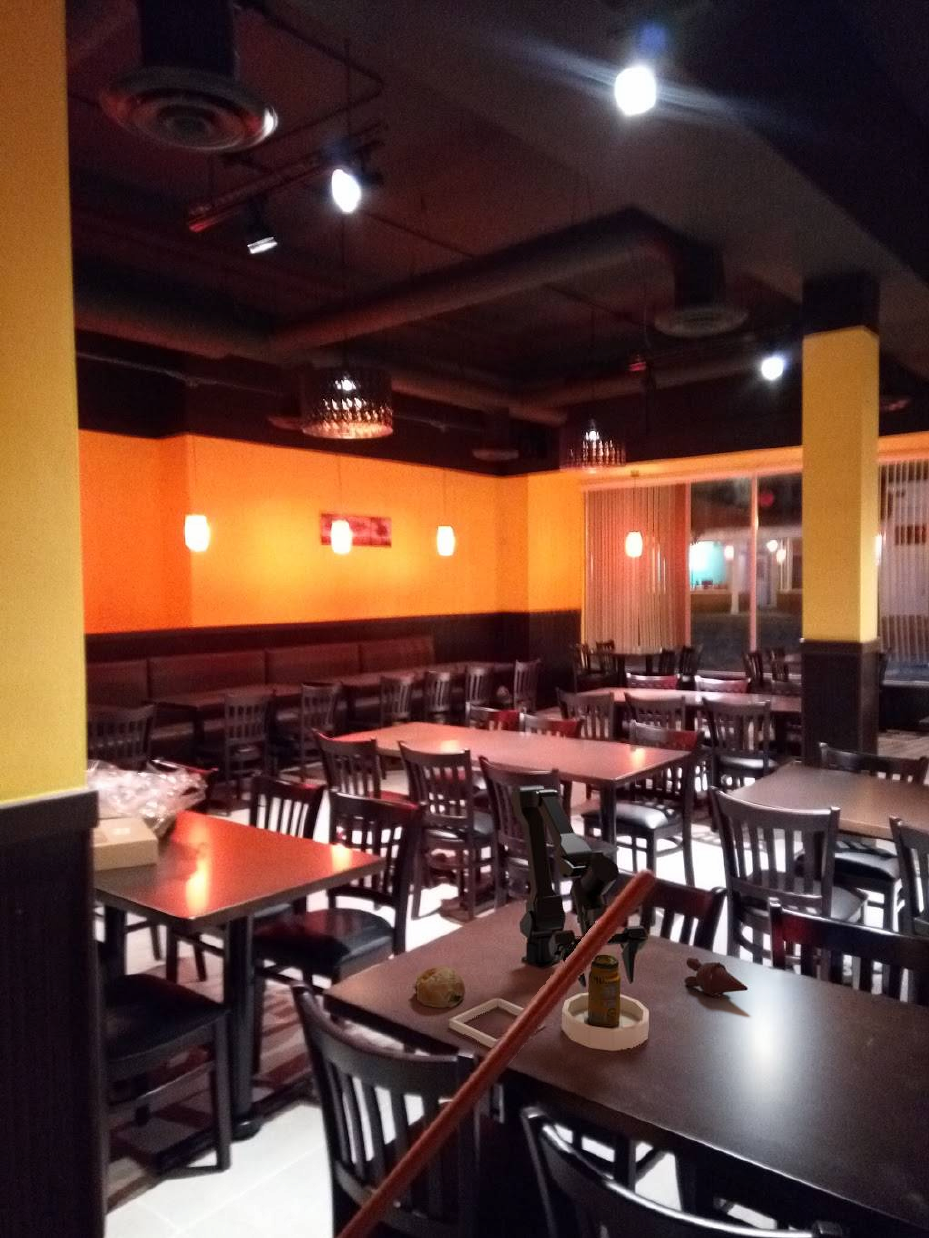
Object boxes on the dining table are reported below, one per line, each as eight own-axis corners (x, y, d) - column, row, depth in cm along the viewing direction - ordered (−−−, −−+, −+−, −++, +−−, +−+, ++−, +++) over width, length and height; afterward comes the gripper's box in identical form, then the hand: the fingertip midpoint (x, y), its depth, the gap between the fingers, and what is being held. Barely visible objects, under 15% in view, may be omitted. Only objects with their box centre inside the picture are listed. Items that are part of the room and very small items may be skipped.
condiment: (621, 1014, 174) (621, 953, 173) (624, 1035, 165) (624, 971, 165) (583, 1012, 174) (584, 951, 174) (584, 1032, 166) (585, 969, 166)
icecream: (759, 970, 182) (697, 953, 193) (738, 970, 177) (676, 953, 189) (756, 1006, 180) (694, 987, 192) (735, 1007, 176) (673, 987, 188)
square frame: (497, 1004, 180) (497, 996, 179) (545, 1025, 171) (545, 1017, 171) (448, 1027, 170) (448, 1019, 170) (497, 1051, 161) (497, 1042, 161)
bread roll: (435, 1029, 177) (449, 998, 174) (400, 994, 182) (413, 963, 180) (465, 1011, 185) (479, 980, 182) (430, 978, 190) (443, 948, 188)
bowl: (595, 1001, 181) (596, 984, 181) (664, 1028, 170) (664, 1010, 170) (545, 1028, 170) (546, 1010, 170) (616, 1059, 158) (616, 1039, 158)
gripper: (553, 889, 171) (570, 970, 161) (645, 885, 175) (667, 963, 164) (542, 916, 179) (557, 994, 169) (630, 911, 183) (650, 987, 172)
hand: (608, 984), depth 168 cm, fingers open, 9 cm apart
